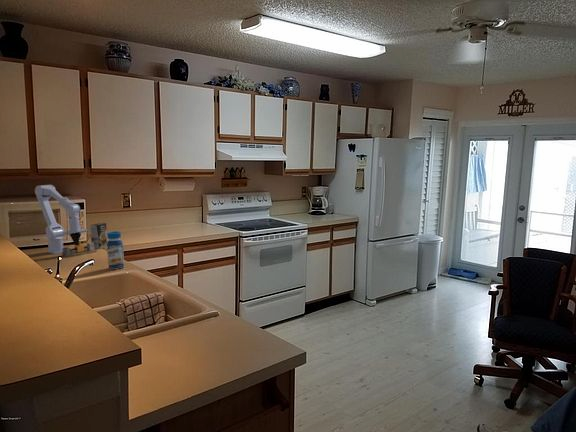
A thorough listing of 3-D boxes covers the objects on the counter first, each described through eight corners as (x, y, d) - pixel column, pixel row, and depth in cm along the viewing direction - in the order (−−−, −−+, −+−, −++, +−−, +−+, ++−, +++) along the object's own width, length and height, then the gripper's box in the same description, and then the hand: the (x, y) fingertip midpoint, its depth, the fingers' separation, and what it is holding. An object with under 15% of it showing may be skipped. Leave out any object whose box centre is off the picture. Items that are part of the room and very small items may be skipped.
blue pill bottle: (128, 266, 241) (125, 231, 239) (118, 270, 233) (115, 234, 230) (114, 265, 244) (112, 230, 241) (105, 269, 236) (102, 233, 233)
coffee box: (100, 249, 288) (98, 225, 286) (91, 248, 289) (89, 224, 287) (108, 246, 297) (106, 222, 295) (100, 245, 298) (98, 222, 296)
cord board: (61, 255, 271) (60, 246, 270) (89, 250, 285) (89, 241, 284) (68, 257, 266) (67, 248, 265) (96, 251, 279) (96, 243, 279)
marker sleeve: (74, 251, 275) (73, 240, 274) (81, 250, 278) (80, 239, 277) (78, 252, 272) (77, 241, 271) (84, 251, 276) (83, 240, 275)
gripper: (65, 225, 263) (67, 247, 265) (88, 222, 274) (90, 243, 276) (60, 224, 267) (62, 246, 269) (83, 221, 279) (85, 242, 281)
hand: (76, 244), depth 273 cm, fingers closed
